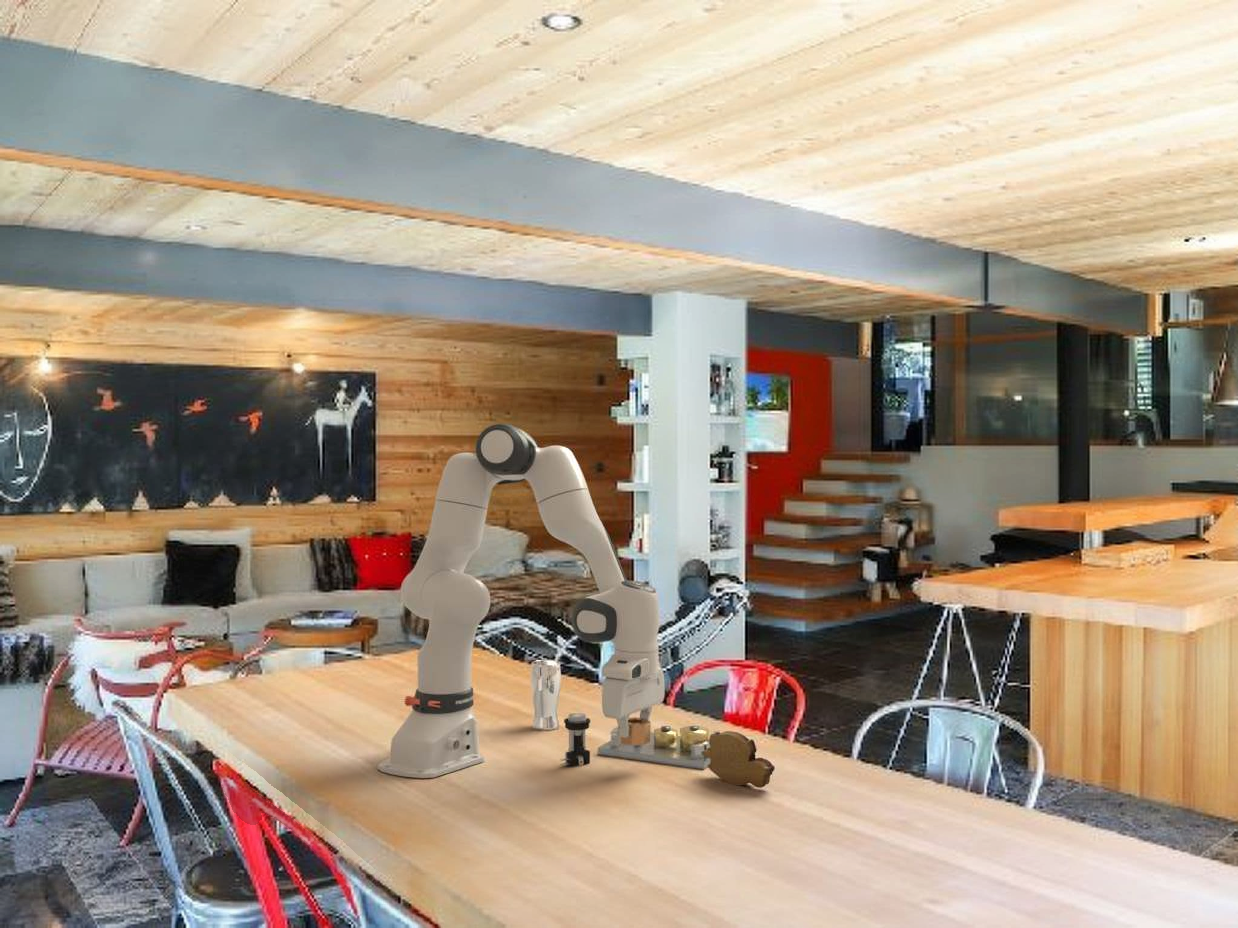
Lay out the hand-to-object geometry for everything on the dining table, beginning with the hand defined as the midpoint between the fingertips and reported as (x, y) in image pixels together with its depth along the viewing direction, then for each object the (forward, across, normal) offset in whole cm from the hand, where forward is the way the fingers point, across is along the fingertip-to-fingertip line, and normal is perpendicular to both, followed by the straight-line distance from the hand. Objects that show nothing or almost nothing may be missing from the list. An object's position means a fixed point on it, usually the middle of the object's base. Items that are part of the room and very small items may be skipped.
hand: (633, 732), depth 220 cm
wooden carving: (+8, -3, +21) cm, 23 cm away
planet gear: (+2, 0, 0) cm, 2 cm away
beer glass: (+8, -21, -34) cm, 40 cm away
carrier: (+7, -16, 0) cm, 17 cm away
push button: (+8, +1, -13) cm, 15 cm away
